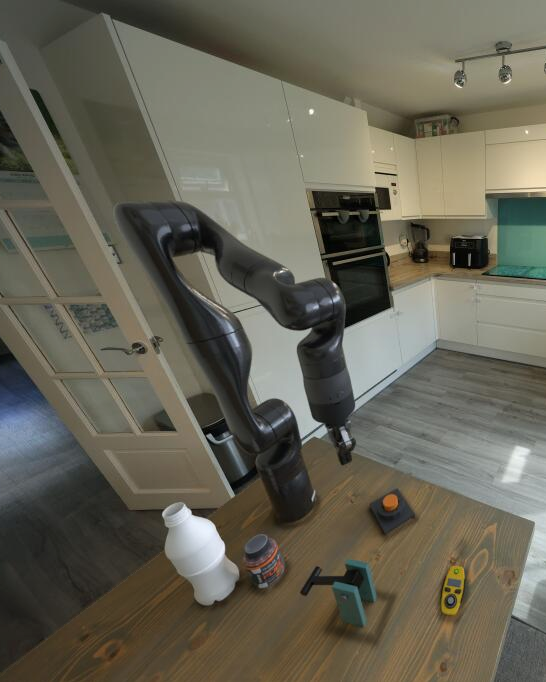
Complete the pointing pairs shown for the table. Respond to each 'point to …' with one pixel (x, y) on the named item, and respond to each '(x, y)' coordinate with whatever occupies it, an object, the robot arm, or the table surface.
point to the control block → (392, 512)
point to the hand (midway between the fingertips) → (345, 461)
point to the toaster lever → (332, 579)
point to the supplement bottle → (263, 561)
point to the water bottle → (199, 554)
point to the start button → (390, 502)
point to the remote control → (452, 590)
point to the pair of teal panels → (354, 594)
